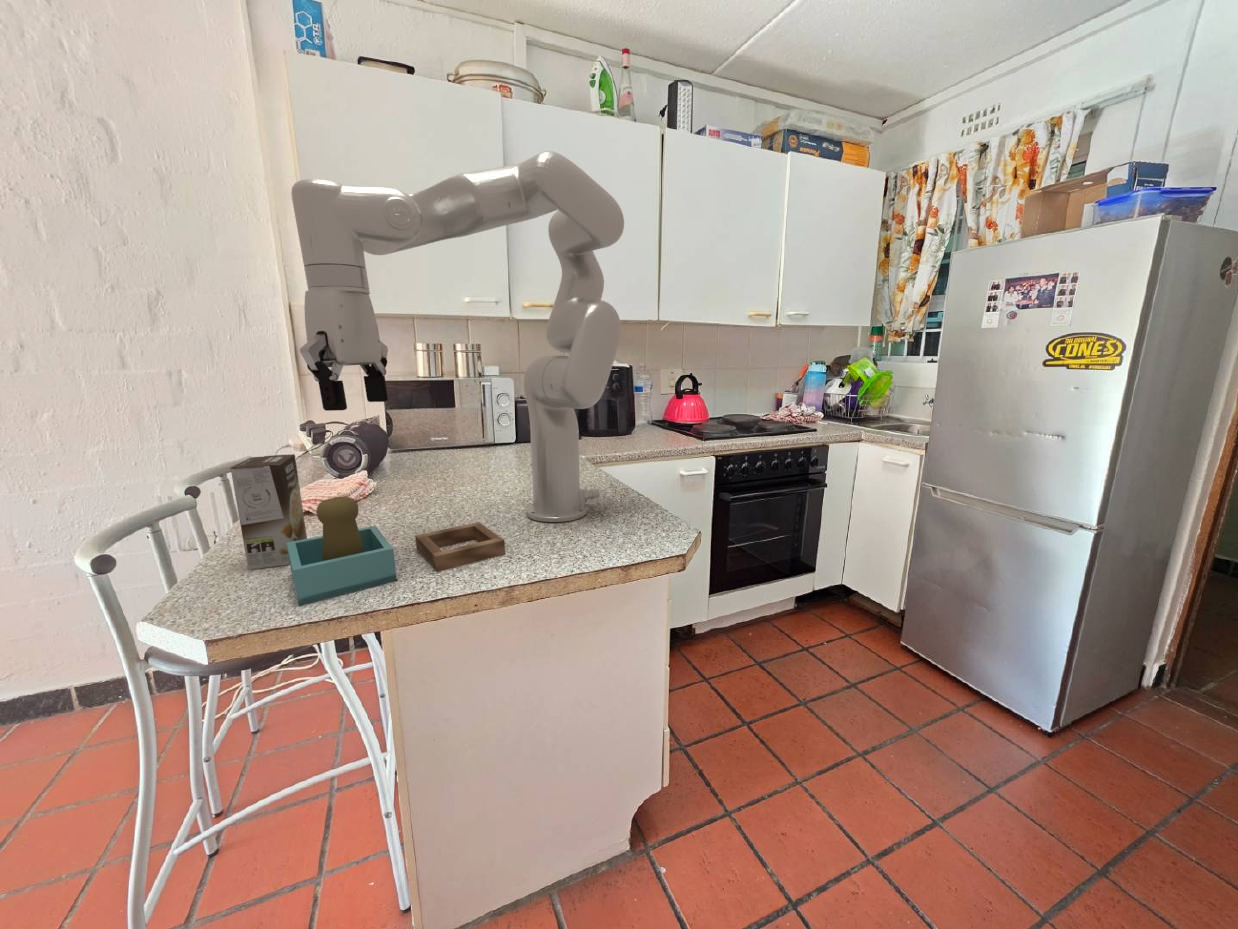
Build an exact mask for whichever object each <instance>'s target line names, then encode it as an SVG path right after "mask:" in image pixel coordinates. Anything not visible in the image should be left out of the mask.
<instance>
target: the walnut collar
mask: <svg viewBox="0 0 1238 929" xmlns="http://www.w3.org/2000/svg"><path fill="white" fill-rule="evenodd" d="M414 539H415V546H416V548H415V549H416V551H417V552H418V554H420V555H421V556H422V557H423V559H425V561H426V562H427V563H428V564H429V565H430V567H432V568H433V570H434V571H435V572H436V573H438V572H442V571H445V570H450V569H453V568H457V567H462V566H465V565H469V564H473V563H478V562H481V561H484V560H488V558H489V559H492V558H496V557H500V556H501V557H502V556H504V554H505V555H506V546H505V542H506V541H505V539H503V537H501V536H500V535H498V534H496V533H495V532H494V531H492V530H491V529H489V527H487V526H485V525H484V524H483V523H481V522H480V521H478V522H473V523H469V524H467V523H466V524H463V525H459V526H454V527H449V528H444V529H438V530H435V531H429V532H425V533H420V534H416V535H415V538H414ZM474 540H475V541H476V542H475V543H470V544H467V545H462V546H459V547H453V548H450V549H446V550H442V549H441V548H444V547H448V546H452V545H456V544H461V543H465V542H469V541H474Z"/></svg>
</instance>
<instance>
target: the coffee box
mask: <svg viewBox="0 0 1238 929" xmlns="http://www.w3.org/2000/svg"><path fill="white" fill-rule="evenodd" d="M229 469H230V473H231V478H232V483H233V490H234V496H235V500H236V501H235V502H236V507H237V514H238V518H239V525H240V529H241V530H240V531H241V537H242V540H243V548H244V552H245V558H246V563H247V569H248V570H250V571H251V570H257V569H266V568H272V567H279V566H282V567H283V566H290V560H289V554H288V548H287V542H292V541H298V540H303V539H308V536H307V528H306V524H305V516H304V515H305V514H304V509H303V500H302V496H301V494H302V493H301V489H300V488H301V487H300V479H299V474H298V468H297V461H296V455H295V454H294V453H293V454H292V453H291V454H273V455H263V456H252V457H249V458H248V459H245V460H243V461H241V462H239V463H237V464H235V465H233V466H231V467H230V468H229Z"/></svg>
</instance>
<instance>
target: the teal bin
mask: <svg viewBox="0 0 1238 929" xmlns="http://www.w3.org/2000/svg"><path fill="white" fill-rule="evenodd" d="M358 530H359V533H360V537H361V540H362V544H363V547H364V551H365V552H363V553H359V554H354V555H349V556H345V557H340V558H336V559H331V560H326V561H322V551H323V535H319V536H314V537H310V538H308V537H307V539H303V540H298V541H292V542H287V548H288V554H289V560H290V565H289V566H290V571H291V577H292V581H293V582H292V583H293V586H294V591H295V594H296V595H295V596H296V601H297V604H298V605H297V606H298V607H300V606H301V607H302V606H305V605H309V604H312V603H317V602H320V601H323V600H328V599H332V598H337V597H339V596H343V595H347V594H348V595H349V594H351V593H355V592H359V591H363V590H367V589H370V588H374V587H378V586H383V585H387V584H390V583H394V582H397V581H398V579H397V569H396V568H397V567H396V560H395V559H396V558H395V550H394V547H393V546H392V545H391V543H390V542H389V541H388V540H387V538H386V537H385V536H384V535H383V533H382V531H381V530H380V529H379V528H378V527H377V526H376V525H372V526H367V527H362V528H358Z"/></svg>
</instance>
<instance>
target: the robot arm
mask: <svg viewBox="0 0 1238 929" xmlns="http://www.w3.org/2000/svg"><path fill="white" fill-rule="evenodd" d="M291 201H292V206H293V212H294V218H295V222H296V224H295V225H296V228H297V233H298V234H297V235H298V240H299V245H300V251H301V257H302V263H303V268H304V269H303V270H304V273H305V280H306V285H307V286H306V287H307V290H305V292H304V307H303V308H304V325H305V335H306V343H305V344H304V345H302V346H301V347H300V349H299V352H300V354H301V356H302V358H303V360H304V362H305V364H306V367H307V370H309V372H310V373H311V374H312V375H313V379H314V381H316V382H318V387H319V393H320V398H321V404H322V408H323V410H324V411H327V412H329V411H331V412H332V411H346V410H347V409H348V405H347V404H348V403H347V398H346V393H345V386H344V382H343V380H339V378H340V376H341V373H342V370H343V368H344V366H347V367H348V366H360V367H361V369H362V370H363V371H364V373H365V374H366V375H364V376H363V381H364V388H365V394H366V400H367V402H369V403H382V402H383V403H385V402H388V401H389V398H388V397H389V396H388V390H387V382H386V377H385V376H387V369H386V367H387V365H388V360H387V358H388V352H389V348H388V346H387V345H386V344H385V343H384V342H382V341H381V338H380V333H379V327H378V323H377V318H376V315H375V311H374V310H375V309H374V307H373V304H372V300H371V296H370V295H371V291H370V285H369V278H368V273H367V266H366V260H365V253H367V254H370V255H373V256H385V255H390V254H393V253H397V252H401V251H402V252H403V251H406V250H409V249H414V248H417V247H422V246H426V245H429V244H433V243H437V242H440V241H445V240H446V241H447V240H450V239H455V238H462V237H466V236H470V235H473V234H477V233H481V232H486V231H489V230H494V229H497V228H500V227H504V226H509V225H513V224H518V223H521V222H526V221H529V220H534V219H536V218H539V217H541V216H545V215H548V214H549V213H552V212H555V211H556V212H555V213H554V214H552V216H551V218H550V220H549V223H548V229H547V230H548V238H549V240H550V243H551V247H552V248H553V250H554V252H555V255H556V256H557V258H558V261H559V263H560V268H561V278H560V284H559V287H558V291H557V293H556V296H555V300H554V303H553V306H552V309H551V313H550V315H549V317H548V320H547V321H548V322H547V324H546V325H547V326H546V334H545V335H546V339H547V343H548V344H549V345H550V346H551V347H552V349H554V350H556V351H558V352H559V353H564V354H569V355H547V356H542V357H539V358H536V359H534V360H533V361H532V362H531V363H530V364H528V366H527V367H526V369H525V371H524V376H523V381H522V382H523V383H522V384H523V392H524V396H525V400H526V405H527V410H528V417H529V418H528V419H529V428H530V432H529V433H530V453H531V454H530V456H531V478H532V479H531V480H532V482H531V483H532V500H533V501H532V503H531V504H529V505H528V506H527V507H526V508H525V515H526V516H527V517H528V518H529V519H531V520H534V521H536V522H542V523H543V522H544V523H563V522H570V521H571V522H572V521H574V520H578V519H582V518H583V517H585V515H587V514H588V511H589V510H588V507H589V506H588V505H587V504H586V502H587V501H588V500H593V499H594V500H595V499H598V498H600V496H601V492H600V490H599V489H598V488H595V489H590V490H588V489H587V488H581V487H580V486H581V484H580V480H581V479H580V451H579V449H580V448H579V446H580V445H579V444H580V443H579V438H580V436H579V434H580V432H579V430H580V429H579V422H578V418H577V415H576V412H575V409H576V410H579V409H580V410H585V409H589V408H591V407H594V406H595V405H596V404H597V403H598V402H599V401H600V399H601V398H602V396H603V394H604V392H605V389H606V387H607V384H608V380H609V378H610V375H611V371H612V368H613V365H614V363H615V359H616V356H617V352H618V349H619V345H620V341H621V335H622V326H621V325H622V324H621V320H620V316H619V313H618V311H617V310H616V308H615V307H614V306H613V305H612V304H611V303H609V302H607V301H605V300H602V297H603V294H604V289H605V278H604V274H603V271H602V268H601V266H600V263H599V262H598V259H597V256H596V254H595V252H594V251H596V250H600V249H604V248H608V247H611V246H612V245H614V244H616V243H617V242H618V241H619V239H621V237H622V235H623V232H624V228H625V218H624V214H623V210H622V208H621V206H620V205H619V203H618V202H617V200H616V199H615V198H614V197H613V196H612V194H610V192H608V191H607V190H606V189H604V187H602V186H601V185H600V184H599V183H598V182H597V181H595V180H594V179H593V178H592V177H591V176H590V175H589V174H587V173H586V171H584V170H583V169H582V168H580V167H579V166H578V165H577V164H575V162H573V161H571V160H570V159H569V158H567V157H565V156H564V155H562V154H560V153H559V152H555V151H552V150H544V151H542V152H541V151H540V152H539V153H538V154H536V155H533V156H532V157H529V158H528V159H526V160H524V161H522V162H518V163H516V164H511V165H510V164H509V165H504V166H499V167H493V168H486V169H481V170H475V171H467V172H462V173H459V174H456V175H454V176H450V177H447V178H445V179H444V180H441V181H440V182H437V183H436V184H433V185H432V186H429V187H427V188H425V189H422V190H419V191H416V192H413V193H410V194H408V193H406V192H405V191H402V190H400V189H397V188H394V187H391V186H389V187H388V186H358V185H357V186H355V185H345V184H342V183H339V182H336V181H332V180H328V179H321V178H308V179H306V178H305V179H302V180H298V181H296V182H294V184H293V185H292V188H291Z"/></svg>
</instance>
